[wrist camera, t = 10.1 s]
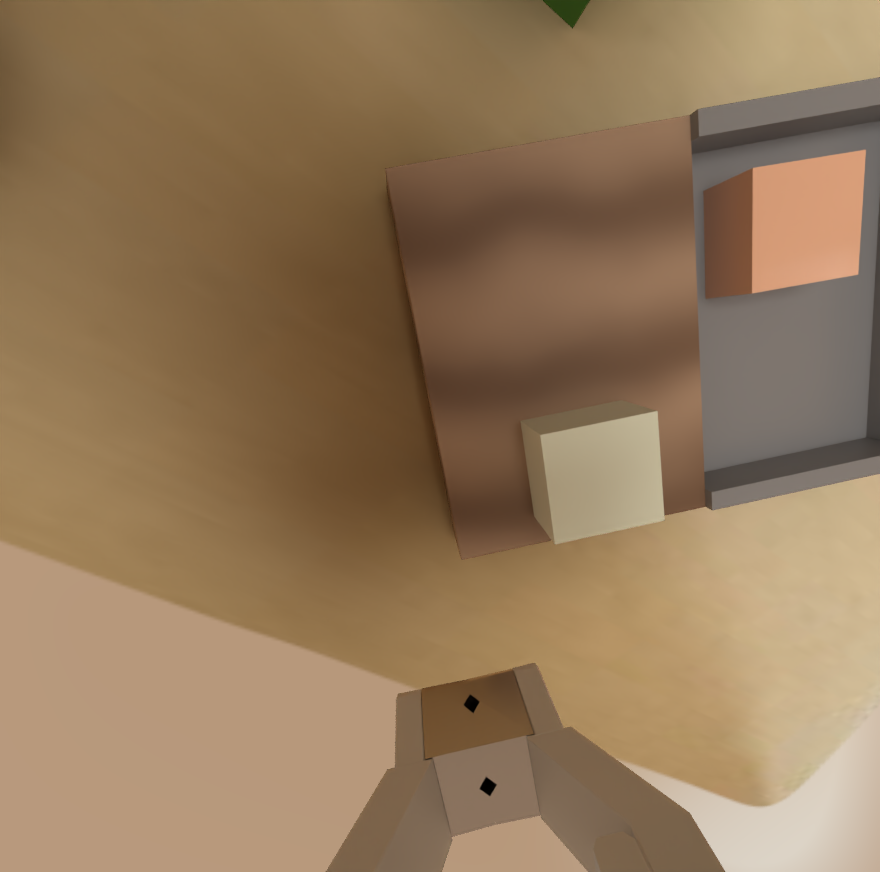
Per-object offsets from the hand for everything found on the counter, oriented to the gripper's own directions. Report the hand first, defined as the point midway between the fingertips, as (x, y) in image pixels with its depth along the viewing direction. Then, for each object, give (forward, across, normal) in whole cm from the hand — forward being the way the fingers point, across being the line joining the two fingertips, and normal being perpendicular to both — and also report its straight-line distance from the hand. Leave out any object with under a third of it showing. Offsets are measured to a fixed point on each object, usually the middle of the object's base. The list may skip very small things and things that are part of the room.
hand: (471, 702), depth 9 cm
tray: (+15, -20, -5) cm, 25 cm away
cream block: (+12, -7, 0) cm, 14 cm away
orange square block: (+14, -18, -9) cm, 25 cm away
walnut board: (+15, -7, -5) cm, 17 cm away
